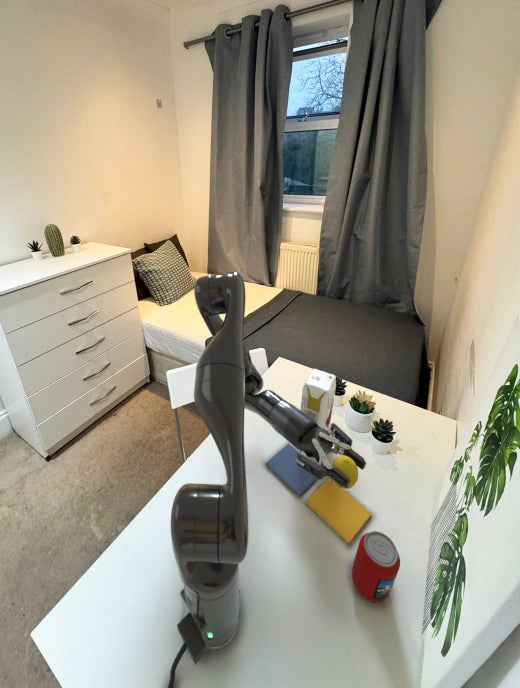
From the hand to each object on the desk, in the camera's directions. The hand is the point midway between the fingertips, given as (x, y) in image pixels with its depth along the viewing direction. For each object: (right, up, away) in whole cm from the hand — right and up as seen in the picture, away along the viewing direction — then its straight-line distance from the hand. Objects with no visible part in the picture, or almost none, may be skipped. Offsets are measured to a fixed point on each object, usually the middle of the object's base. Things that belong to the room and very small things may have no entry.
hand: (356, 474), depth 67 cm
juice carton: (-1, -3, +28) cm, 28 cm away
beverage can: (+1, -19, -4) cm, 19 cm away
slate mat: (-9, -8, +17) cm, 21 cm away
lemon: (-1, -5, +5) cm, 7 cm away
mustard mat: (-1, -12, +8) cm, 15 cm away
